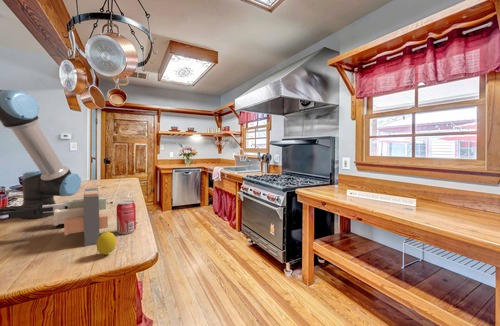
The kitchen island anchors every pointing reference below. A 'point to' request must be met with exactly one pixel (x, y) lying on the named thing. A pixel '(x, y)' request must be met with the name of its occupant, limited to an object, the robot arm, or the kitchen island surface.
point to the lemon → (106, 243)
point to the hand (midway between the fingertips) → (64, 207)
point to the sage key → (81, 203)
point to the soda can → (126, 217)
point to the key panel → (91, 216)
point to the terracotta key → (82, 224)
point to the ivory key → (67, 214)
